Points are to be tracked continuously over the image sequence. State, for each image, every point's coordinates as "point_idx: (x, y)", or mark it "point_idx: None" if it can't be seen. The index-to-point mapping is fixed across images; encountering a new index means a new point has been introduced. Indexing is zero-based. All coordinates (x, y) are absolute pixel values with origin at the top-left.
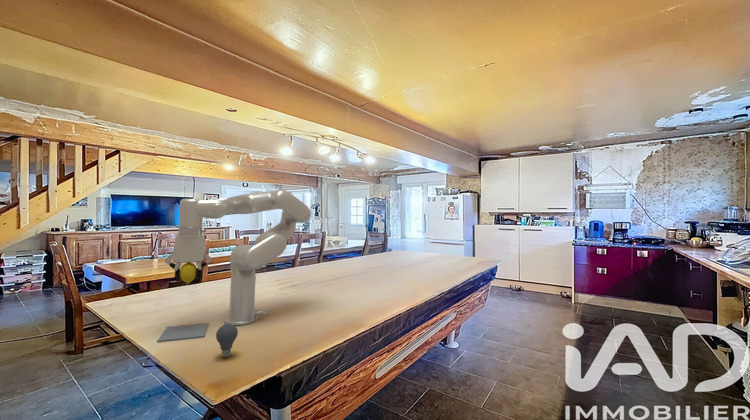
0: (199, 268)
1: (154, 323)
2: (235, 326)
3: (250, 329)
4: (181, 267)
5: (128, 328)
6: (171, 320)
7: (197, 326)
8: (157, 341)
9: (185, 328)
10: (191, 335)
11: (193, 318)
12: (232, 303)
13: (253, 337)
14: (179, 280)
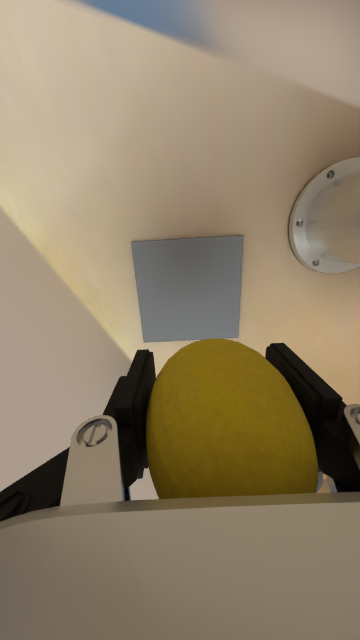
0: (341, 480)
1: (74, 174)
2: (322, 477)
3: (344, 310)
4: (158, 494)
5: (21, 210)
6: (117, 150)
7: (214, 262)
8: (145, 341)
9: (186, 273)
10: (210, 329)
11: (186, 144)
12: (356, 249)
13: (338, 362)
14: (155, 376)
